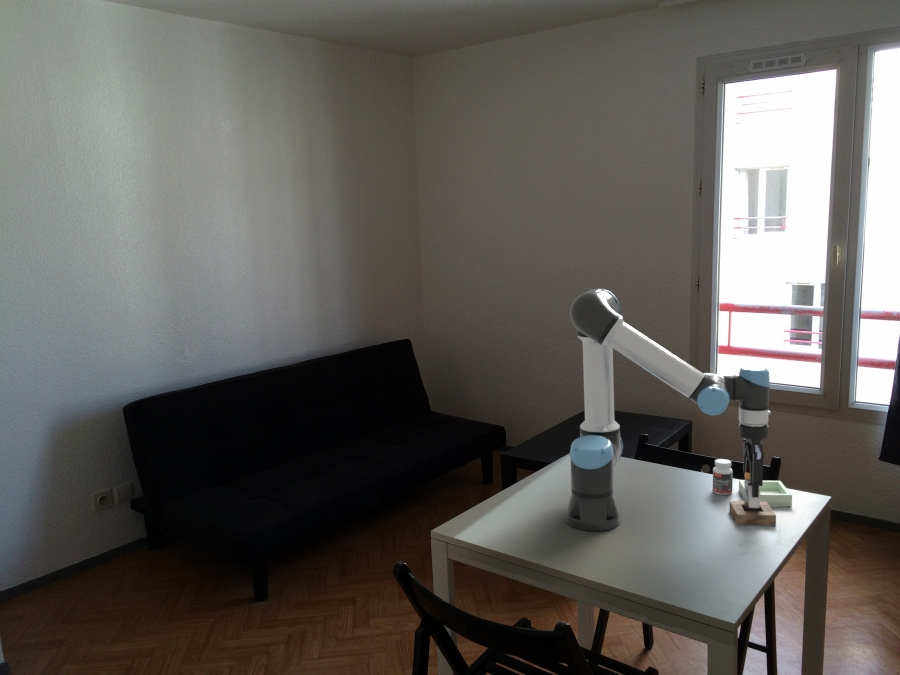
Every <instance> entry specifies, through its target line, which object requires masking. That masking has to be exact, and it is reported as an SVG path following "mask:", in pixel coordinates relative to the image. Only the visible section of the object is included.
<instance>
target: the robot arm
mask: <svg viewBox="0 0 900 675" xmlns="http://www.w3.org/2000/svg"><path fill="white" fill-rule="evenodd" d="M620 308H621V307H620V302H619V300H618V298H617V296H616V295H614V293H612V291H610V290H607V289H605V288H591V289H589V290H587V291H585V292H584V293H581V294H580V295H578V296H577V297H575V299H574V300H573V301H572V303H571V305H570V308H569V309H570V310H569V317H570V320H571V323H572V324H573V327H574V328H575V329H576V335H577V336H576V337H577V338H578V339H579V340H581V342H582V361H583V391H584V392H583V395H584V396H583V400H584V401H583V402H584V420H583V421H582V423H581V424H580V425H579V437H578V438H576V439H574V440H573V441H572V443H571V445H570V451H569V456H570V457H569V458H570V483H571V484H570V485H571V487H570V488H571V492H570V493H571V495H570V497H569V500H568V503H567V504H568V505H567V507H566V510H565V522H566V523H567V524H568V525H569V526H571V527H573V528H574V529H579V530H582V531H589V532H600V531H607V530H612V529H614V528H615V527H617V526H619V524H620V523H621V517H620V516H621V515H620V511H619V508H618V505H617V501H616V499H615V496H614V469H615V468H616V466H617V463H618V462H619V461H620V459H621V456H622V454H623V449H624V445H623V440H622V437H621V428H620V427H621V426H620V423H618V422H617V421H616V420H615V398H614V397H615V395H614V394H615V393H614V392H615V390H614V389H615V388H614V356H613V355H614V354H613V352H614V351H613V350H615V351H617V352H618V353H620V354H621V355H623V356H624V357H625V358H627V359H628V360H630V361H632V362H633V363H635V364H636V365H638V366H639V367H640V368H642V369H644V370H645V371H647V372H649V373H650V374H651V375H653V376H654V377H656V378H658V379H659V380H660V381H661V382H663V383H665V384H667V385H668V386H669V387H671V388H673V389H674V390H676V391H677V392H678V393H680V394H682V396H685V397H686V398H688V399H689V400H691V401H692V402H694V403H695V404H696V405H697V406H698V408H699V409H700V410H701V412H702V413H704V414H705V415H709V416H718V415H721V414H723V413H724V412H725V411H726V410H727V408H728V406H729V403H730V402H739V403H738V404H739V407H738V421H739V423H738V435H739V436H738V437H741V438H742V447H743V448H742V449H743V451H742V452H743V454H742V455H743V457H742V460H743V462H742V464H743V466H742V473H743V474H744V476H743V477H745V472H747V471H750V483H747V484H748V486H749V508H760V486H762V485H763V483H762V482H763V481H764V480H763V477H764V476H763V475H764V473H763V472H764V457H765V453H764V452H763V444H761V441H762V440H766V439H767V438H769V416H770V415H771V413H772V412H771V410H769V408H770V407H769V406H770V386H771V385H770V371H769V370H768V369H767V368H766V367H762V366H756V365H755V366H754V365H752V366H751V365H750V366H748V365H747V366H743V367H741V368H740V369H739V372H738V373H735V374H734V373H713V372H711V373H710V372H704V373H703V372H702V371H700V370H698V369H697V368H696V367H694V366H692V365H691V364H689V363H688V362H686V361H685V360H683V359H681V358H680V357H678V356H677V355H675V353H674V354H673V352H671V351H669V350H668V349H666V348H665V347H663V346H661V344H659V343H657V342H655V341H654V340H653V339H651V338H650V337H648V336H647V335H645V334H643V333H642V332H640V331H638V330H637V329H635V328H634V327H632V326H631V325H629V323H626V322H625V321H624V317H623V315H621V314H620V311H621V310H620Z"/></svg>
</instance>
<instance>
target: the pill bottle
mask: <svg viewBox="0 0 900 675" xmlns="http://www.w3.org/2000/svg"><path fill="white" fill-rule="evenodd" d="M714 465H715V466H714V467H713V468H712V492H713V493H714V494H716V495H720V496H728V495H731V494H732V493H733V477H734V476H733V473H734V472H733V469H732V468H731V467H732V461H731V460H729V459H727V458H726V459H724V458H718V459H715V460H714Z"/></svg>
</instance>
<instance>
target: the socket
mask: <svg viewBox="0 0 900 675" xmlns="http://www.w3.org/2000/svg"><path fill="white" fill-rule="evenodd" d="M771 507H772V506H769V505H768V503H767V502H761V501H760V512H756V511H744V500H729V509H728V510H729V513H730V514H731V516H732V518H733V520H734V522H735V524H736V526H758V527H759V526H764V527H766V526H772V527H775V526H777V515H776V513H775V512H774V510H773V509H772V508H771Z"/></svg>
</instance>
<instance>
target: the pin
mask: <svg viewBox="0 0 900 675" xmlns="http://www.w3.org/2000/svg"><path fill="white" fill-rule="evenodd" d="M744 475H745V476H744V480H745V488H744V499H743V501H744V511H756V512H760V508H749V486H748V484H747V483H750V471H747V472H745V473H744Z"/></svg>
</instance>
